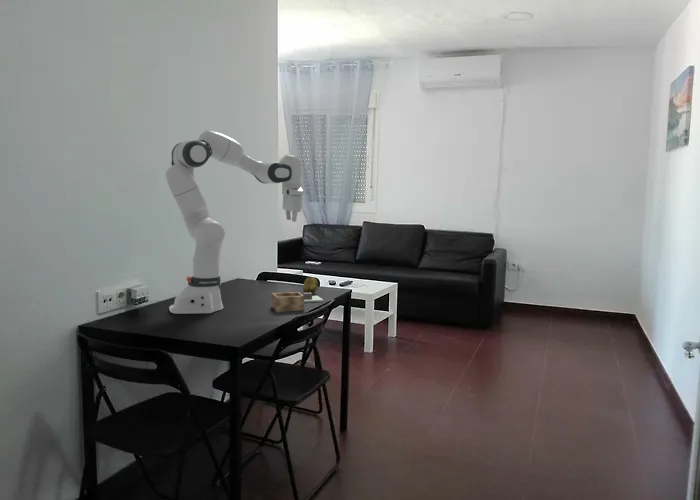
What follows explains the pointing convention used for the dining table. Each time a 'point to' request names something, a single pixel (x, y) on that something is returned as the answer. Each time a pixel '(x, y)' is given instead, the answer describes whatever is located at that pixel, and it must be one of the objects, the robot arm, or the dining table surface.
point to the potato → (310, 285)
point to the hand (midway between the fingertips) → (291, 220)
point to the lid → (311, 298)
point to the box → (287, 301)
